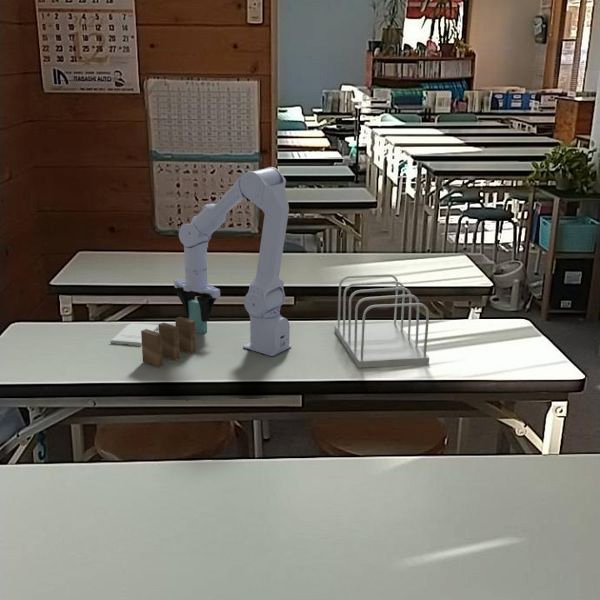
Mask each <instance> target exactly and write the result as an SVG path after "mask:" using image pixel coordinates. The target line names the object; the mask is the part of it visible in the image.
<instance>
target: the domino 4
mask: <svg viewBox="0 0 600 600" xmlns="http://www.w3.org/2000/svg"><path fill="white" fill-rule="evenodd" d="M188 312H189V317H188V319H190V320H194V321H195V332H196V331H197V333H199V332H200V334H205V333H207V332H208V321H205V322H203V321H202V320H201V311H200V306H199V302H198V300H197V299H195V300H194V299H191V300H189V301H188Z"/></svg>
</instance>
